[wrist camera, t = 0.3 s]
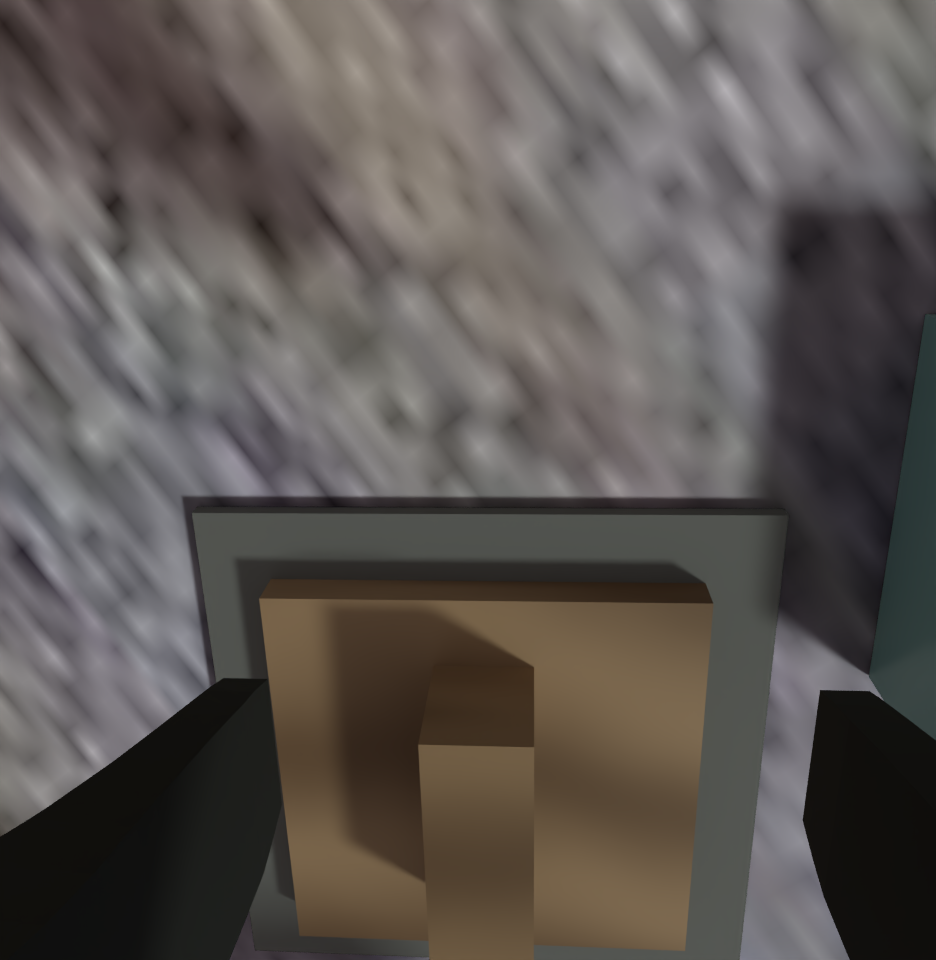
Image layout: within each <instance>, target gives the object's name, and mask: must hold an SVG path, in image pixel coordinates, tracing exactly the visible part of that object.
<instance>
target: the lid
mask: <svg viewBox="0 0 936 960" xmlns="http://www.w3.org/2000/svg"><path fill="white" fill-rule="evenodd" d="M259 601H260V610H261V618H262V626H263V635H264V643H265V651H266V660H267V668H268V676H269V685H270V693H271V701H272V710H273V718H274V726H275V735H276V743H277V751H278V759H279V768H280V776H281V784H282V793H283V801H284V809H285V818H286V826H287V834H288V843H289V851H290V859H291V868H292V876H293V884H294V893H295V901H296V909H297V918H298V926H299V934H300V936H315V937H341V938H367V939H392V940H418V941H429V958H430V960H534V945H546V946H571V947H597V948H622V949H648V950H674V951H685V946H686V934H687V921H688V909H689V897H690V885H691V873H692V860H693V848H694V836H695V824H696V811H697V799H698V787H699V775H700V763H701V750H702V738H703V726H704V714H705V702H706V689H707V677H708V665H709V653H710V640H711V628H712V616H713V601H712V598H711V596H710V593H709V591H708V588H707V586H706V583H626V582H522V581H419V580H315V579H271V580H270V581H269V583H268V585H267V586H266V588H265V590H264V591H263V593H262V595H261V596H260V598H259Z"/></svg>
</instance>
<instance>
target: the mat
mask: <svg viewBox="0 0 936 960" xmlns="http://www.w3.org/2000/svg"><path fill="white" fill-rule="evenodd" d="M788 517H789V515H788V514H787V512H786V511H785V509H689V508H419V507H197V508H196V509H195V510H194V511H193V512H192V518H193V525H194V532H195V538H196V545H197V552H198V559H199V566H200V573H201V580H202V587H203V594H204V601H205V608H206V615H207V621H208V628H209V635H210V642H211V649H212V656H213V663H214V670H215V677H216V683H217V682H218V681H220V680H221V679H223V678H249V679H268V685H269V676H268V668H267V660H266V651H265V643H264V635H263V626H262V618H261V610H260V601H259V598H260V596H261V595H262V593H263V591H264V590H265V588H266V586H267V585H268V583H269V581H270V580H271V579H315V580H419V581H522V582H626V583H706V586H707V588H708V591H709V593H710V596H711V598H712V601H713V616H712V628H711V640H710V653H709V665H708V677H707V689H706V702H705V714H704V726H703V738H702V750H701V763H700V775H699V787H698V799H697V811H696V824H695V836H694V848H693V860H692V873H691V885H690V897H689V909H688V921H687V934H686V946H685V951H674V950H648V949H622V948H597V947H571V946H546V945H534V960H739V959H740V950H741V941H742V932H743V923H744V914H745V905H746V896H747V887H748V878H749V869H750V860H751V851H752V842H753V833H754V824H755V815H756V806H757V797H758V788H759V779H760V770H761V761H762V752H763V743H764V734H765V725H766V716H767V707H768V698H769V689H770V680H771V671H772V662H773V653H774V644H775V635H776V626H777V617H778V608H779V599H780V590H781V581H782V572H783V563H784V554H785V545H786V536H787V527H788ZM269 694H270V703H271V712H272V721H273V729H274V738H275V747H276V756H277V765H278V773H279V782H280V791H281V800H282V806H281V810H280V814H279V818H278V822H277V826H276V830H275V834H274V838H273V842H272V845H271V849H270V853H269V856H268V860H267V863H266V867H265V871H264V874H263V877H262V880H261V882H260V885H259V887H258V890H257V892H256V895H255V897H254V900H253V902H252V905H251V907H250V910H249V912H250V919H251V926H252V933H253V940H254V947H255V950H260V951H285V952H310V953H334V954H359V955H384V956H409V957H429V941H418V940H392V939H367V938H341V937H315V936H300V934H299V926H298V918H297V909H296V901H295V893H294V884H293V876H292V868H291V859H290V851H289V843H288V834H287V826H286V818H285V809H284V801H283V793H282V784H281V776H280V768H279V759H278V751H277V743H276V735H275V726H274V718H273V710H272V701H271V693H270V685H269Z"/></svg>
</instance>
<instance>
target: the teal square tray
mask: <svg viewBox="0 0 936 960" xmlns="http://www.w3.org/2000/svg"><path fill="white" fill-rule="evenodd" d="M869 678H870V679H871V681H872V682H873V684H874V686H875V687H876V689H877V690H878V692H879V694H880V695H881V697H882V698H883V700H884V702H886V703H887V704H889V705H890V706H891V707H893V708H894V709H895V710H897V711H898V712H899V713H901V714H902V715H903V716H905V717H906V718H907V719H909V720H910V721H911V722H913V723H914V724H915V725H917V726H918V727H919V728H920V729H922V730H923V731H924V732H926V733H927V734H928V735H930V736H931V737H932V738H934V739H935V740H936V314H925V320H924V326H923V333H922V339H921V346H920V352H919V358H918V365H917V371H916V378H915V384H914V390H913V397H912V403H911V410H910V416H909V422H908V429H907V435H906V442H905V448H904V454H903V461H902V467H901V474H900V480H899V486H898V493H897V499H896V506H895V512H894V519H893V525H892V531H891V538H890V544H889V551H888V557H887V563H886V570H885V576H884V583H883V589H882V595H881V602H880V608H879V615H878V621H877V627H876V634H875V640H874V647H873V653H872V659H871V666H870V672H869Z"/></svg>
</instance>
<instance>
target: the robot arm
mask: <svg viewBox="0 0 936 960" xmlns="http://www.w3.org/2000/svg"><path fill="white" fill-rule="evenodd" d="M281 806H282V800H281V791H280V782H279V773H278V765H277V756H276V747H275V738H274V729H273V721H272V712H271V703H270V694H269V685H268V679H249V678H223V679H221V680H220V681H218V682H217V683H215V684H214V685H213V686H211V687H210V688H208V689H207V690H206V691H204V692H203V693H202V694H200V695H199V696H198V697H197V698H195V699H194V700H193V701H191V702H190V703H189V704H188V705H186V706H185V707H184V708H182V709H181V710H180V711H179V712H177V713H176V714H175V715H173V716H172V717H171V718H170V719H168V720H167V721H166V722H164V723H163V724H162V725H161V726H159V727H158V728H157V729H155V730H154V731H153V732H151V733H150V734H149V735H147V736H146V737H145V738H144V739H142V740H141V741H140V742H138V743H137V744H136V745H134V746H133V747H132V748H130V749H129V750H128V751H126V752H125V753H124V754H123V755H121V756H120V757H119V758H117V759H116V760H115V761H113V762H112V763H110V764H109V765H108V766H106V767H105V768H103V769H102V770H100V771H99V772H98V773H96V774H95V775H93V776H92V777H90V778H89V779H87V780H86V781H85V782H83V783H82V784H80V785H79V786H77V787H76V788H75V789H73V790H72V791H70V792H69V793H67V794H66V795H65V796H63V797H62V798H60V799H59V800H57V801H56V802H54V803H53V804H52V805H50V806H49V807H47V808H46V809H44V810H43V811H41V812H39V813H38V814H36V815H35V816H33V817H32V818H30V819H29V820H27V821H25V822H24V823H22V824H21V825H19V826H17V827H16V828H14V829H12V830H11V831H9V832H8V833H6V834H4V835H2V836H1V837H0V960H229V959H230V957H231V954H232V952H233V949H234V947H235V944H236V942H237V940H238V937H239V935H240V932H241V930H242V927H243V925H244V922H245V920H246V917H247V915H248V912H249V910H250V907H251V905H252V902H253V900H254V897H255V895H256V892H257V890H258V887H259V885H260V882H261V880H262V877H263V874H264V871H265V867H266V863H267V860H268V856H269V853H270V849H271V845H272V842H273V838H274V834H275V830H276V826H277V822H278V818H279V814H280V810H281ZM803 823H804V827H805V831H806V834H807V838H808V842H809V846H810V850H811V853H812V857H813V861H814V865H815V868H816V871H817V875H818V878H819V882H820V885H821V889H822V892H823V896H824V898H825V901H826V903H827V906H828V908H829V911H830V913H831V916H832V918H833V920H834V923H835V925H836V928H837V930H838V932H839V935H840V937H841V940H842V942H843V945H844V947H845V949H846V952H847V954H848V957H849V959H850V960H936V740H935V739H934V738H932V737H931V736H930V735H928V734H927V733H926V732H924V731H923V730H922V729H920V728H919V727H918V726H917V725H915V724H914V723H913V722H911V721H910V720H909V719H907V718H906V717H905V716H903V715H902V714H901V713H899V712H898V711H897V710H895V709H894V708H893V707H891V706H890V705H889V704H887V703H886V702H884V701H883V700H882V699H880V698H879V697H877V696H876V695H874V694H873V693H871V692H870V691H832V690H820V695H819V703H818V710H817V718H816V725H815V733H814V740H813V748H812V755H811V763H810V770H809V778H808V785H807V792H806V800H805V807H804V815H803Z"/></svg>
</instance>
